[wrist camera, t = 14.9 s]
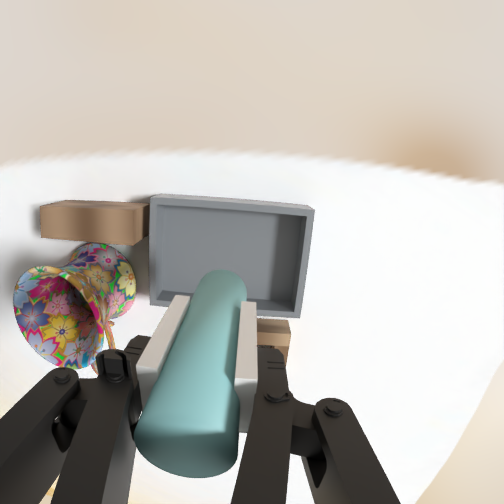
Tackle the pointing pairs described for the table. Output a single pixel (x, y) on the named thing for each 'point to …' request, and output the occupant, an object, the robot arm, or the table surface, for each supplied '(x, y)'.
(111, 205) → the block
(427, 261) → the table surface
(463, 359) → the table surface
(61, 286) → the mug
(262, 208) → the tray
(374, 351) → the table surface
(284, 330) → the socket
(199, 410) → the dowel
